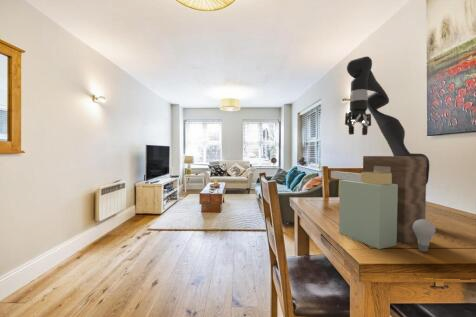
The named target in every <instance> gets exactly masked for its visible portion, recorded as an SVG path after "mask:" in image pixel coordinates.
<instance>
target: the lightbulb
mask: <svg viewBox="0 0 476 317" xmlns="http://www.w3.org/2000/svg"><path fill="white" fill-rule="evenodd" d="M412 228H413V231H414V233H415V234H416V237H417V241H416V242H417V244H418V246H417V247H418V250H419V251H421V252H422V253H426V252H428V251H429V246H430V242H431V240H432V238H433V237H434V236H435V234H436V226H435V225H434V224H433V222H431V221H430V220H428V219H426V220H425V219H419V220H416V221H415V222H414V223H413V226H412Z"/></svg>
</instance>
